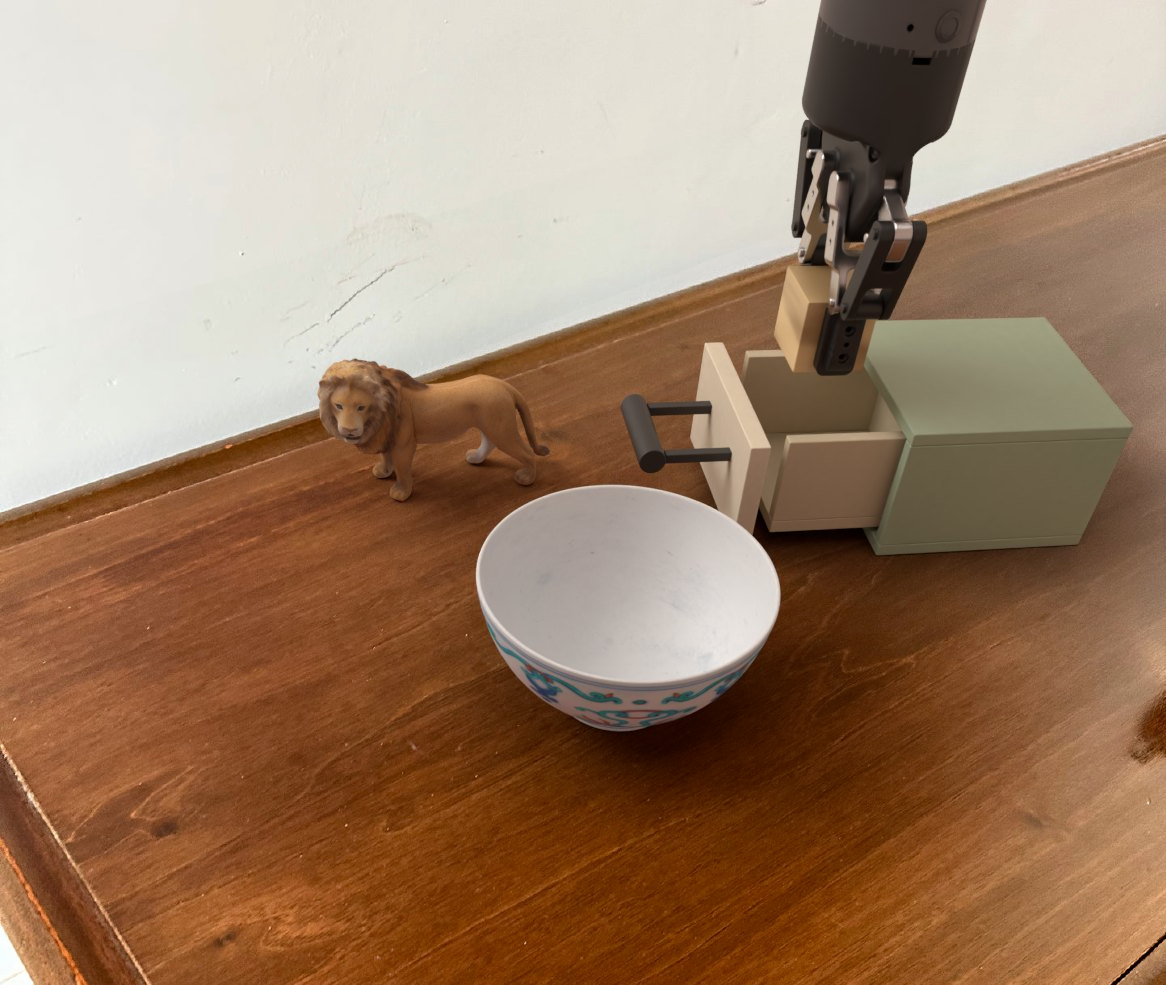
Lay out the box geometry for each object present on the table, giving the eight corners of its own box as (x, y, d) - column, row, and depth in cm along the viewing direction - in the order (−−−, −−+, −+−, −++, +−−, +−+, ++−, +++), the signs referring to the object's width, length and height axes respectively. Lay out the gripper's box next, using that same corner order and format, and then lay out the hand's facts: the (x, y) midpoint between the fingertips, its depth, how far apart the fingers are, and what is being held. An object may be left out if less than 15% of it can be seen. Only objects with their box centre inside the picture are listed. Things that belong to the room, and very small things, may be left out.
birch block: (840, 334, 71) (858, 265, 68) (862, 371, 68) (881, 301, 65) (773, 335, 70) (787, 265, 67) (792, 373, 68) (808, 302, 64)
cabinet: (875, 556, 73) (914, 434, 67) (816, 439, 81) (846, 320, 75) (1078, 545, 76) (1134, 426, 69) (1001, 432, 84) (1045, 316, 77)
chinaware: (719, 826, 58) (746, 717, 53) (433, 746, 61) (429, 633, 55) (776, 633, 68) (805, 523, 62) (528, 570, 70) (533, 458, 64)
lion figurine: (342, 528, 72) (328, 394, 65) (316, 478, 75) (300, 345, 68) (564, 480, 76) (573, 350, 70) (532, 435, 79) (537, 306, 73)
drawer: (640, 550, 71) (653, 452, 66) (606, 440, 78) (616, 344, 73) (926, 535, 74) (960, 440, 69) (868, 431, 81) (894, 337, 76)
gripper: (782, -36, 60) (727, 291, 73) (872, 69, 51) (791, 421, 64) (921, -31, 61) (843, 289, 74) (1033, 72, 52) (922, 417, 65)
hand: (819, 349), depth 69 cm, fingers closed on birch block, 4 cm apart
